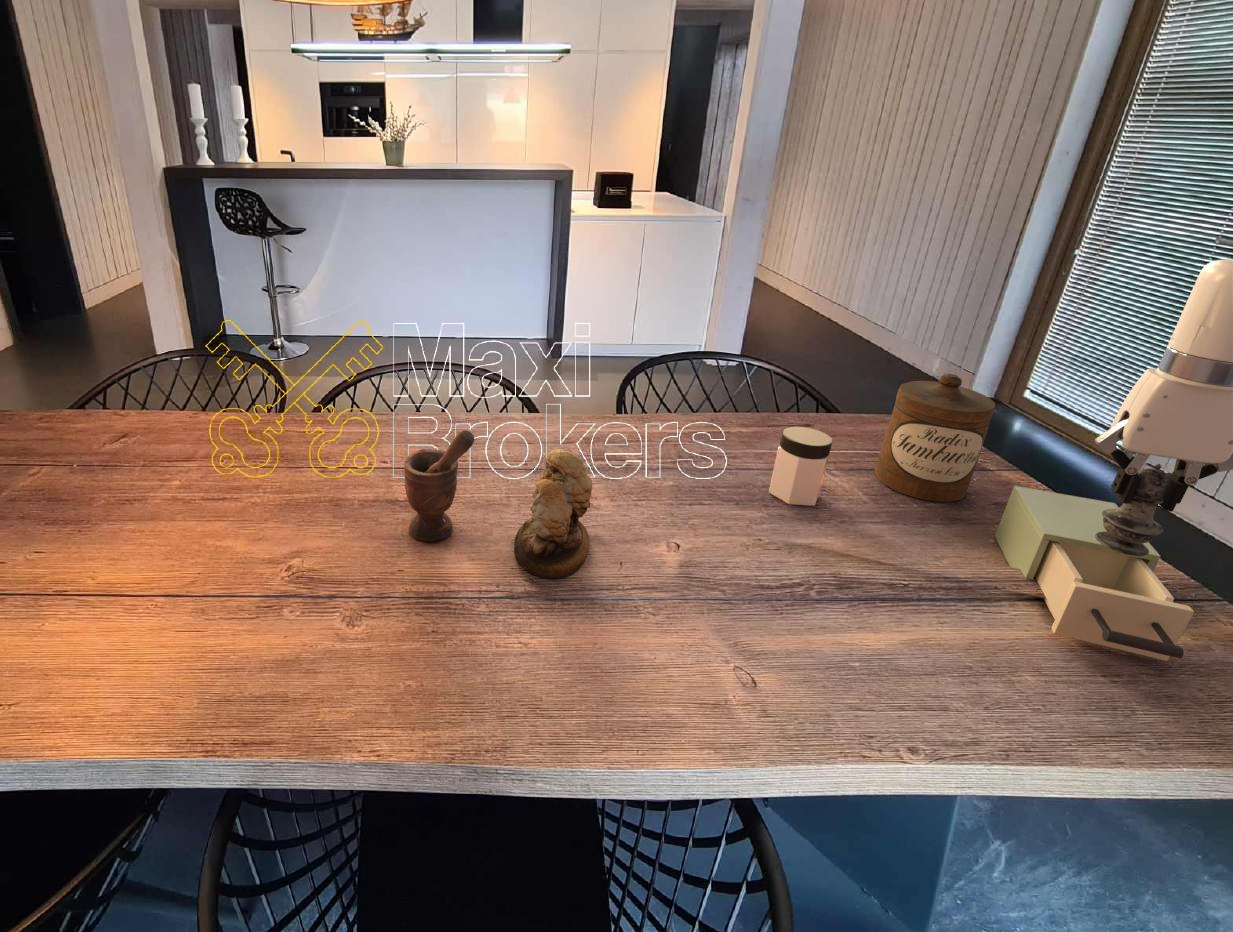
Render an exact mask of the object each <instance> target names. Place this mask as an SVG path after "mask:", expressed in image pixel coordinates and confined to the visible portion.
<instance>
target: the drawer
mask: <svg viewBox="0 0 1233 932" xmlns="http://www.w3.org/2000/svg"><path fill="white" fill-rule="evenodd" d="M1034 578H1035V580H1036V582H1037V583H1038V585H1039V587H1040V589H1041V591H1042V592H1043V594H1044V596H1045V597H1042V598H1043V601H1044V602H1045V604H1046V606H1047V608H1048V610H1049V612H1050V614H1051V615H1052V617H1053V619H1054V621H1053V623H1052V625H1051V628H1050V629H1051V631H1052V633H1053V634H1054V635H1057V636H1061V637H1065V638H1068V639H1069V638H1070V639H1073V640H1078V641H1080V642H1081V641H1082V642H1085V643H1090V644H1094V645H1099V646H1103V647H1107V648H1111V649H1116V650H1118V651H1119V650H1120V651H1124V652H1127V653H1132V654H1136V655H1141V656H1144V657H1149V658H1152V659H1157V660H1161V661H1166V662H1168V660H1169V659H1170V657H1171V658H1176V659H1182V658H1183V657H1184V653H1185V651H1184V648H1183V646H1180V645H1178V642H1179V640H1180V639H1181V637H1182V636H1183V633H1184V632H1185V630H1186V628H1187V626H1188V624H1189V623H1190V621H1191V619H1192V617H1193V615H1194V613H1195V610H1193V608H1192V607H1191V606H1190V605H1187V604H1182V603H1179V602H1174V600H1175V598H1174V595H1172V594H1171V593H1170V592H1169V590H1168V589H1167V588H1166V586H1165V585H1164V584H1163V582H1162V581H1161V580H1160V578H1158V576H1157V575H1156V574H1155V573H1154V571H1153V572H1152V571H1151V569H1150V568H1149V567H1148V566H1147V564H1146V563H1145V562H1144V561H1143V559H1142V558H1138V557H1133V556H1128V555H1123V554H1118V553H1113V552H1107V551H1102V550H1097V549H1092V548H1087V547H1082V546H1077V545H1072V544H1067V543H1062V542H1057V541H1052V540H1049V543H1048V545H1047V547H1046V550H1045V552H1044V554H1043V557H1042V559H1041V562H1040V564H1039V566H1038V569H1037V571H1036V573H1035V576H1034Z"/></svg>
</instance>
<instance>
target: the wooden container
mask: <svg viewBox="0 0 1233 932" xmlns="http://www.w3.org/2000/svg"><path fill="white" fill-rule="evenodd" d="M962 384H963V379H962V378H961V377H959V375H956V374H953V373H946V374H942V375H941V376H939V377H938V381H931V380H914V381H908V382H904V383H902V384H901V385H900V386H899V387H898V390H897V394H896V397H895V403H894V407H893V410H892V413H891V416H890V418H889V423H888V426H887V428H886V431H885V435H884V438H883V440H882V444H881V447H880V450H879V456H878V458H877V460H876V461H877V462H876V465H875V469H874V474H875V477H876V478H877V479H878V480H879V481H880V482H881V483H882V484H884V485H885V486H887V487H889V488H890V489H892V490H894V491H896V492H898V493H900V494H903V495H906V496H909V497H912V498H915V499H920V500H925V501H929V502H937V503H938V502H939V503H948V502H949V503H950V502H956V501H960V500H962V499H963V498H965V496H966V494H967V492H968V489H969V487H970V484H971V481H972V478H973V476H974V473H975V472H976V471H975V470H976V468H977V465H978V463H979V462H978V461H979V460H980V459H979V458H980V455H981V452H982V448H983V445H984V443H985V439H986V436H987V433H988V430H989V427H990V422H991V421H992V417H993V415H994V412H995V409H996V404H995V401H994V400H992V398H990V397H989V396H987V395H985V394H983V393H981V392H978V391H976V390H973V389H970V388H968V387H964V386H962Z"/></svg>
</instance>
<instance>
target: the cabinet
mask: <svg viewBox="0 0 1233 932" xmlns="http://www.w3.org/2000/svg"><path fill="white" fill-rule="evenodd" d="M1119 508H1120V506H1118V505H1117V504H1116V503H1115V502H1109V501H1104V500H1100V499H1093V498H1087V497H1081V496H1076V495H1069V494H1064V493H1059V492H1052V491H1048V490H1041V489H1036V488H1030V487H1025V486H1019V485H1013V488H1012V491H1011V493H1010V495H1009V498H1008V501H1007V503H1006V506H1005V509H1004V511H1003V513H1002V517H1001V518H1000V522H999V524H998V527H997V530H996V532H995V535H994V538H995V540H996V541H997V543H998V546H999V547H1000V550H1001V552H1002V553H1003V556H1004V557H1005V559H1006V562H1007V564H1008V565H1009V567H1010V568H1013V569H1017V570H1020V571H1021V573H1022V574H1023V577H1024V579H1026V580H1031V581H1034V578H1035V573H1036V571H1037V569H1038V566H1039V564H1040V562H1041V559H1042V557H1043V554H1044V552H1045V550H1046V547H1047V545H1048V543H1049V540H1052V541H1057V542H1062V543H1067V544H1072V545H1077V546H1082V547H1087V548H1092V549H1097V550H1102V551H1107V552H1113V553H1118V554H1123V555H1128V554H1124V553H1120V552H1117V551H1115V550H1112V549H1110V548H1108V547H1106V546H1104V545H1103V544H1101V543H1100V542H1098V541H1097V540H1096V538H1095V535H1096V533H1098V532H1107V531H1106V529H1105V528H1104V526H1103V516H1102V512H1103V511H1104V510H1106V509H1119ZM1143 544H1144V545H1145V546H1146V547H1147V548H1148V550H1149V553H1148V555H1146V556H1133V555H1128V556H1133V557H1138V558H1142V559H1143V561H1144V562H1145V563H1146V564H1147V566H1148V567H1149V568H1150V569H1151V571H1152V572H1153V573H1154V572H1155V569H1156V567H1157V566H1158V563H1159V560H1160V559H1161V557H1162V556H1161V554H1159V552H1158V551H1157V550H1156V549H1155V548H1154V546H1153V545H1152V544H1151V543H1150V542H1147V543H1143Z"/></svg>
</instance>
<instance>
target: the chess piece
mask: <svg viewBox="0 0 1233 932" xmlns="http://www.w3.org/2000/svg"><path fill="white" fill-rule="evenodd" d="M1161 469H1162V465H1161V464H1160V463H1158V464H1155V465H1154V467H1148V468H1141V469H1140V470H1139V472H1138V475H1139V476H1140V477H1141V480H1140V482H1139V485H1138V487H1137V489H1136V491H1135V493H1134V495H1133V497H1132V499H1131V502H1130V503H1128V504H1125V503H1121V505H1120V506H1119V509H1106V510H1104V511H1103V512H1102V516H1103V526H1104V528H1105V529H1106V531H1107V532H1098V533H1096V535H1095V538H1096V540H1097V541H1098V542H1100V543H1101V544H1103V545H1104V546H1106V547H1108V548H1110V549H1112V550H1115V551H1117V552H1120V553H1124V554H1128V555H1133V556H1146V555H1148V553H1149V550H1148V548H1147V547H1146V546H1145V545H1144V544H1143V543H1147V542H1149V543H1150V542H1152V541H1153V540H1155V539H1156V538H1157V536H1159V535H1161V534H1163V532H1164V528H1163V526H1162V525H1161V524H1160V523H1158V522H1156V521H1155V520H1154V516H1155V512H1156V510H1157V508H1158V506H1159V504H1161V503H1163V499H1162V498H1161V496H1162V494H1163V492H1164V490H1165V488H1166V486H1167V484H1168V481H1169V478H1168V476H1167V475H1166V474H1167V473H1165V472H1164V471H1162V470H1161Z"/></svg>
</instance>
